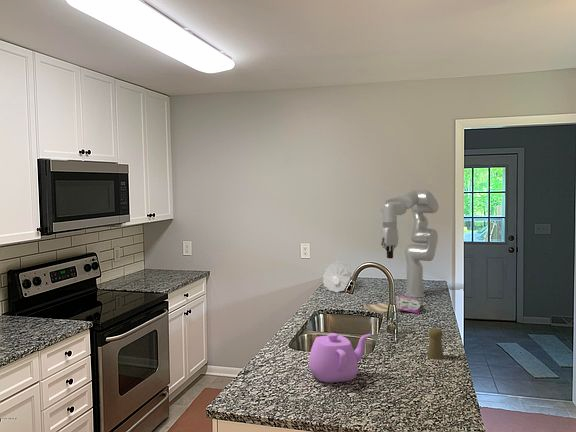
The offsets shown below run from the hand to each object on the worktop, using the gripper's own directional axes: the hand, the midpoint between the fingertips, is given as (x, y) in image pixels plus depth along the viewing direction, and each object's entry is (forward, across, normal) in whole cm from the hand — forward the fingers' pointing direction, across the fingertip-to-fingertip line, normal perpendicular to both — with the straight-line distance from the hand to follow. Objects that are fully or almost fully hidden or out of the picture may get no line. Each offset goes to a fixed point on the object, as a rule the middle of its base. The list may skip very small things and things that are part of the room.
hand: (389, 258), depth 267 cm
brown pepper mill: (+26, +46, +66) cm, 85 cm away
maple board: (+27, +8, +2) cm, 28 cm away
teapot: (+26, +90, +56) cm, 109 cm away
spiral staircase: (+28, -7, -52) cm, 59 cm away
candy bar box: (+24, -8, +5) cm, 26 cm away
